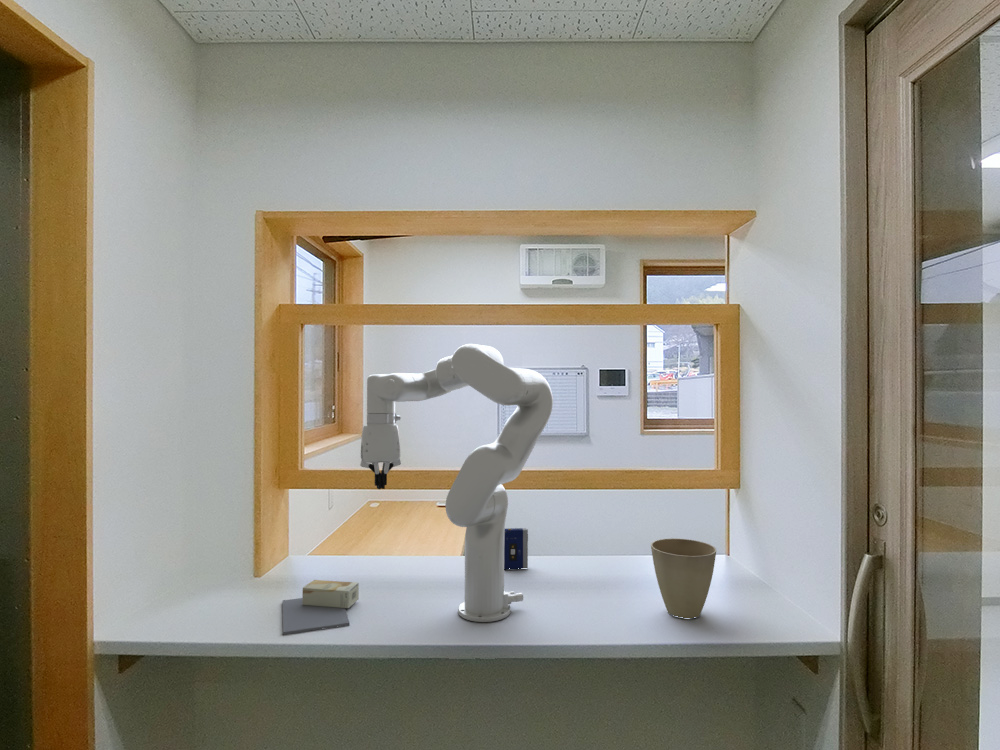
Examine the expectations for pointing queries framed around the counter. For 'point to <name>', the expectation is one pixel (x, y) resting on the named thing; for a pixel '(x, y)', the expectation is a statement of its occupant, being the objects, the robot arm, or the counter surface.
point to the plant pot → (683, 574)
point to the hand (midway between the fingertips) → (380, 488)
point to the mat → (310, 617)
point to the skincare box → (330, 593)
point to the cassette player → (516, 548)
